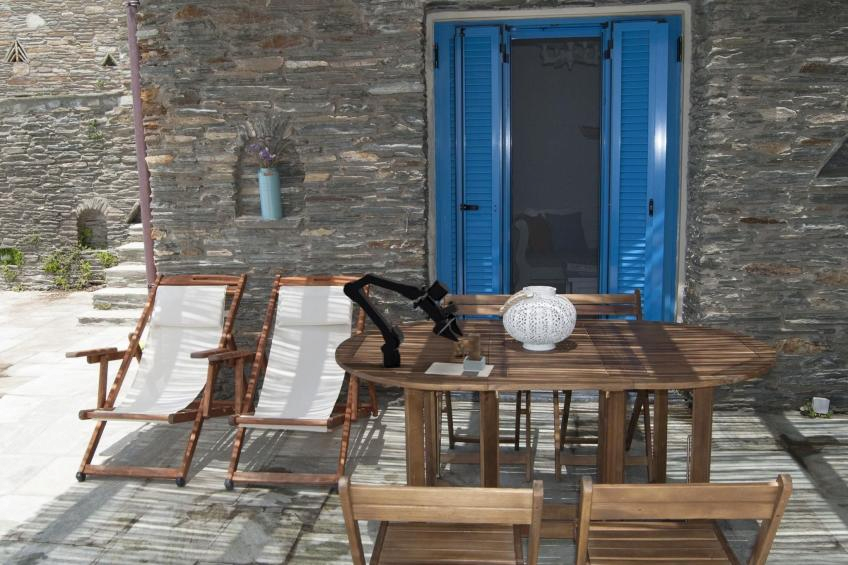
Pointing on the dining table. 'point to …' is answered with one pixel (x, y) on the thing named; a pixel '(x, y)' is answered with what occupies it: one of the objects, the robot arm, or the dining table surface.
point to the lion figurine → (461, 347)
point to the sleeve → (474, 364)
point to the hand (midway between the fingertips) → (460, 338)
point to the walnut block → (473, 347)
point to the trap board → (457, 370)
